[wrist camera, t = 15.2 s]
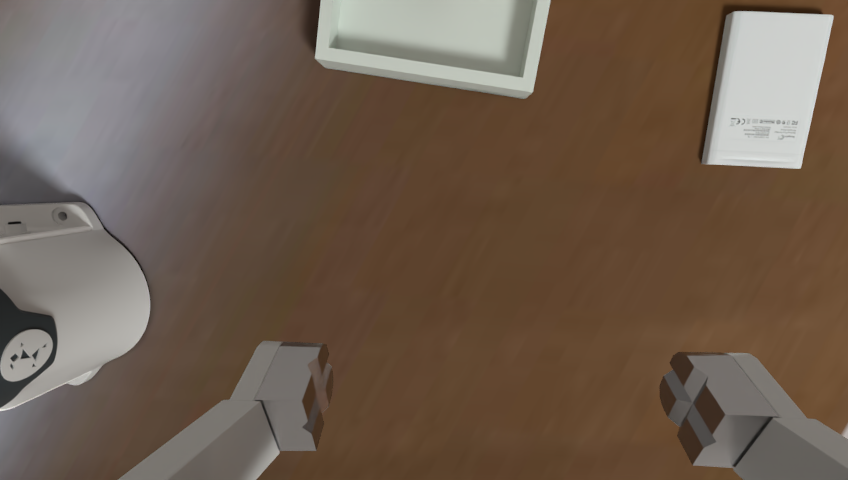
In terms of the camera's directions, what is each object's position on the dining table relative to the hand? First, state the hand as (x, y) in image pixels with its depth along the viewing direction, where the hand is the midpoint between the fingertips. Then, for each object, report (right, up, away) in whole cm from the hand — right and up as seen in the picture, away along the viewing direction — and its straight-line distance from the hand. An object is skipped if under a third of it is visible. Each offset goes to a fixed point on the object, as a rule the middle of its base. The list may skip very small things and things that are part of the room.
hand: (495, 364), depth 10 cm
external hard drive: (+28, +16, +26) cm, 41 cm away
